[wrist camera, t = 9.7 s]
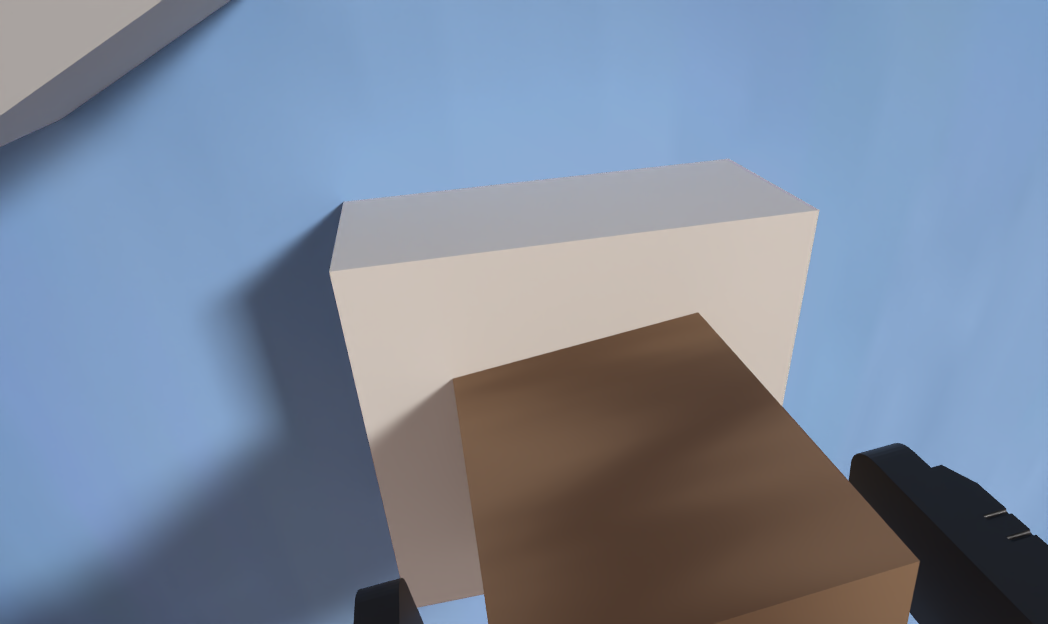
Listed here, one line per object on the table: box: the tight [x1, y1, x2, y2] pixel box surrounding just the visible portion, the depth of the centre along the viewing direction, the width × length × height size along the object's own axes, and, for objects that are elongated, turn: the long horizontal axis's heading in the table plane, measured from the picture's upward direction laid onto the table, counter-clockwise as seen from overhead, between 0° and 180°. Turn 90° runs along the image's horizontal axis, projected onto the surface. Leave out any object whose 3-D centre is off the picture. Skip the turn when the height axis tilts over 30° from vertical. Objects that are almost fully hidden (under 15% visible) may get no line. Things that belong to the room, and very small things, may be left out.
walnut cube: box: [453, 312, 920, 624], centre depth 11 cm, size 5×5×6 cm
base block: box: [329, 159, 819, 607], centre depth 15 cm, size 9×9×4 cm
